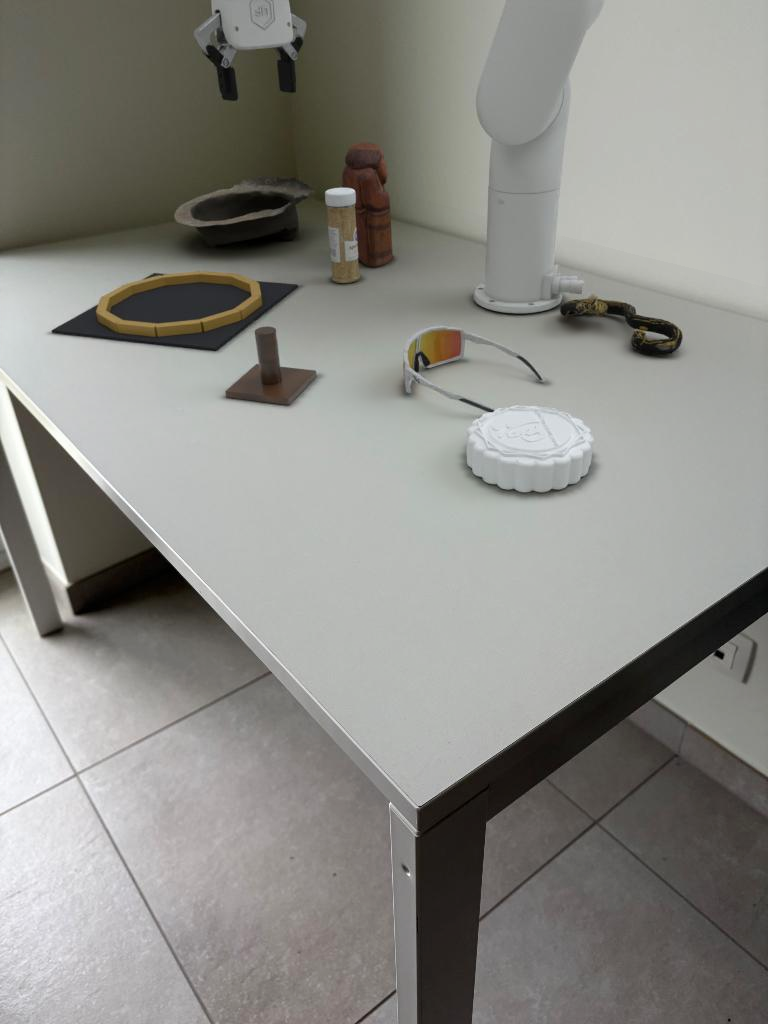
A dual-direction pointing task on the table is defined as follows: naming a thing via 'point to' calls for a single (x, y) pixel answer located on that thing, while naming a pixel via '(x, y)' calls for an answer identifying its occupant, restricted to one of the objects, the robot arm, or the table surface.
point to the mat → (179, 312)
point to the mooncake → (529, 448)
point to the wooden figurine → (369, 202)
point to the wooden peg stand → (270, 375)
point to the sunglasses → (446, 356)
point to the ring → (181, 326)
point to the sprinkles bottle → (342, 234)
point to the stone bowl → (246, 210)
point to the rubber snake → (630, 324)
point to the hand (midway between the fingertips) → (259, 95)
